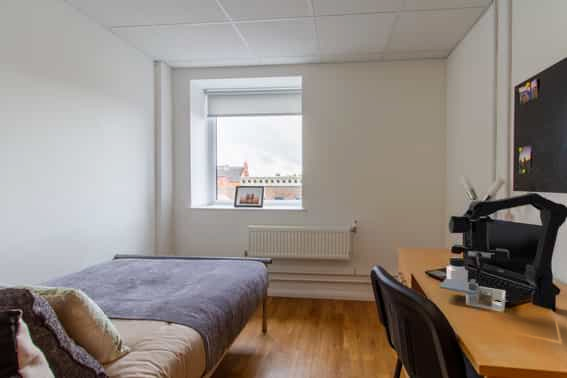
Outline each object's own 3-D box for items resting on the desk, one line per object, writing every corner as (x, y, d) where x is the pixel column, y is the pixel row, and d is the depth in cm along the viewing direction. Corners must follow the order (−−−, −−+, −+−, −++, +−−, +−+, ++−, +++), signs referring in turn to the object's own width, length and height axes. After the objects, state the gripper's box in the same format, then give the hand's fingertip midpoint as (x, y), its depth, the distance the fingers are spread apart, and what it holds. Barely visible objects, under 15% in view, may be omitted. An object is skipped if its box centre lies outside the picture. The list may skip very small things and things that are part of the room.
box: (505, 303, 125) (505, 290, 125) (503, 314, 115) (503, 300, 115) (469, 296, 132) (470, 284, 132) (465, 306, 122) (465, 293, 122)
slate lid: (478, 285, 130) (478, 278, 130) (474, 294, 121) (474, 286, 120) (445, 280, 137) (445, 273, 137) (439, 288, 128) (439, 280, 128)
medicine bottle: (468, 286, 144) (468, 260, 144) (451, 285, 146) (451, 259, 146) (462, 281, 151) (462, 256, 151) (446, 280, 153) (446, 256, 153)
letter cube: (492, 303, 123) (492, 292, 123) (491, 306, 120) (491, 295, 120) (480, 300, 126) (480, 290, 126) (478, 304, 122) (478, 293, 122)
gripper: (509, 232, 125) (509, 272, 125) (455, 228, 136) (455, 265, 137) (508, 237, 116) (508, 279, 116) (450, 232, 127) (451, 271, 128)
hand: (479, 273), depth 124 cm, fingers closed
